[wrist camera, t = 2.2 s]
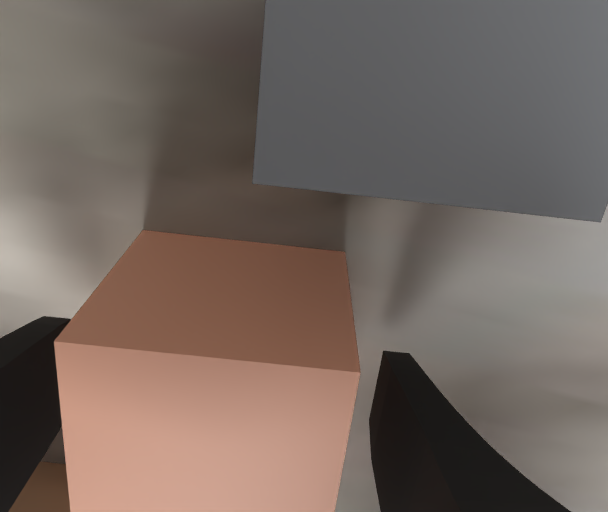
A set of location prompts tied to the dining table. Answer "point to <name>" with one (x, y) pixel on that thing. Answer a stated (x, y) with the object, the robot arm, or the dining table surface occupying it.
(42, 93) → the dining table surface
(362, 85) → the gray block
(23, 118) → the dining table surface
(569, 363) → the dining table surface
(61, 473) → the walnut block
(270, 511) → the terracotta block
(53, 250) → the dining table surface
